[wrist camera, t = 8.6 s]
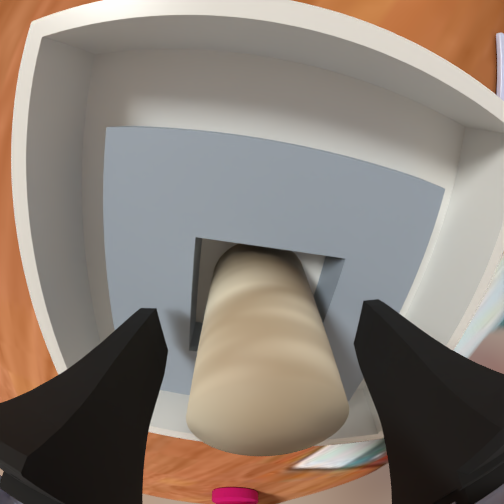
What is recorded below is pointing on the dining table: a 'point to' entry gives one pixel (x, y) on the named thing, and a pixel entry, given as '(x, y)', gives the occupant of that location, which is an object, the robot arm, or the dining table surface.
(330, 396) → the peg
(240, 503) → the pepper mill
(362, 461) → the dining table surface
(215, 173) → the bore plate
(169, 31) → the tray
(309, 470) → the dining table surface
